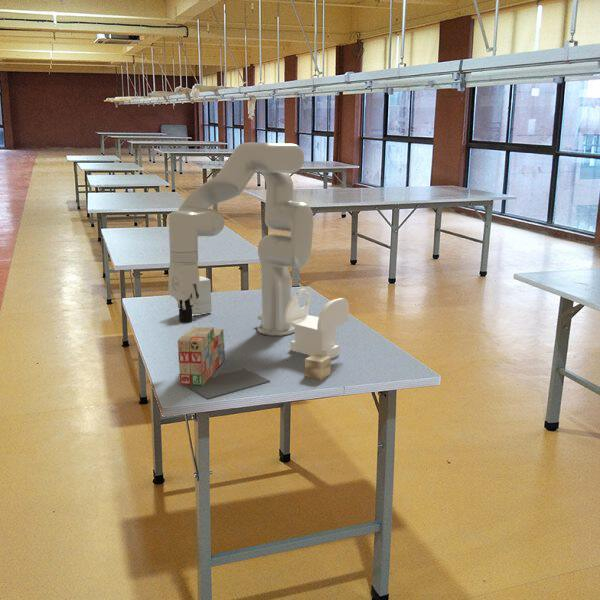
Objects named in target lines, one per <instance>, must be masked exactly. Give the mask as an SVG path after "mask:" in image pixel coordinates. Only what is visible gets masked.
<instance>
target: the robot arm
mask: <svg viewBox="0 0 600 600" xmlns="http://www.w3.org/2000/svg"><path fill="white" fill-rule="evenodd" d="M304 161H305V153H304V151H303V149H302V148H301V147H300V146H299V145H298V144H295V143H278V142H277V143H275V142H274V143H273V142H258V141H257V142H252V141H251V142H243V143H242V142H241V143H240V144H238V146H236V147H235V149H234V150H233V152H232V153H231V154H230V156H229V158H228V159H227V160H226V161H225V163H224V165H223V166H222V167H221V169H220V170H219V172H218V173H217V174H216V176H214V177H212V178H211V179H209V180H207V181H206V182H204V183H203V184H201V185H199V186H198V187H197V188H195V189H194V190H193V191H192V192H191V193H189V195H188V196H186V198H185V199H184V201H183V202H182V204H181V205H180V206H179V208H178V210H176V211H171V212H170V213H169V215H168V233H169V264H168V265H169V267H168V282H167V283H168V285H167V286H168V287H167V288H168V294H169V295H170V297H172V298H174V299H175V300H176V302H177V307H178V319H179V320H178V322H179V323H181V324H182V325H184V324H190V323H193V316H192V309H193V305H196V304H197V299H198V298H199V297H200V280H199V276H200V272H199V265H198V263H199V247H198V246H199V241H198V239H199V237H215V236H217V235H219V234H220V233H221V232H222V231H223V229H224V227H225V218H224V216H223V214H221V212H220V211H217V210H216V209H212V208H210V207H212V206H215V205H216V204H219V203H222V202H223V203H224V202H226V201H229V200H232V199H234V198H237V197H238V196H240V195H241V194H242V192H243V191H244V189H245V188H246V187H247V185H248V183H249V182H250V180H251V179H252V178H253V176H255V174H256V173H261V175H262V176H263V179H264V182H265V185H266V186H265V187H266V190H265V191H266V193H265V194H266V195H265V205H264V206H265V209H264V223H265V225H266V227H267V228H269V230H274V231H279V232H288V233H290V235H282V234H267V235H265V236H263V237H262V238H261V239H260V240H259V243H258V245H257V255H258V258H259V259H258V260H259V265H260V273H261V314H260V315H258V316H257V320H260V324H259V325H258V326H257V332H258V331H259V332H258V333H260V334H262V333H263V334H262V335H265V334H266V336H274V337H275V336H276V337H277V336H286V335H291V334H293V333H295V326H293V325H289V324H285V323H284V313H285V309H286V306H287V304H288V302H289V301H290V299H291V298H292V277H291V273H290V270H289V268H295V269H296V268H299V269H300V268H303V267H305V266H307V264H308V263H309V261H310V258H311V255H312V245H313V244H312V243H313V232H314V231H313V230H314V214H313V211H312V208H311V207H310V205H308V204H307V203H306V202H302V201H294V183H293V180H292V178H291V175H290V174H289V173H296V172H298V171H299V170H300V169H302V167H303V164H304ZM288 267H289V268H288Z"/></svg>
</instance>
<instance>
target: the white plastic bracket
mask: <svg viewBox="0 0 600 600" xmlns="http://www.w3.org/2000/svg"><path fill="white" fill-rule="evenodd" d="M303 293H305V294H306V302H305V304H304V306H303V307H301V306H300V304H299V298H300V296H301V295H302V294H303ZM311 303H312V294H311V292H310V290H309V289H307V288H300V289H298V291H297V292H296V293H295V295H293V296H291V299H290V301H289V302H288V304H287V306H286V309H285V313H284V323H285V324H289V325H293V326H295V332H294V340H291V341H289V342H290V346H289V347H290V349H289V350H290V351H291V350H293V351H292V352H295V351H297V352H296V353H298V352H301V353H300V354H302V353H304V354H303V355H305V354H308V355H307V356H309V355H313V354H318V355H323V356H329V357H330V360H331V359H334V358H337V357H338V355H339V356H340V345H336V328H337V327H341V326H343V325H344V323H347V322H349V321H350V304H349V300H348V299H347V298H344V297H343V298H342V297H339V298H335V299H332V300H329V301H328V302H327V303H326V304H325V305H324V306H323V307H322V309H321V311H320V313H319V316H315V315H309V307H310V304H311Z"/></svg>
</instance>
